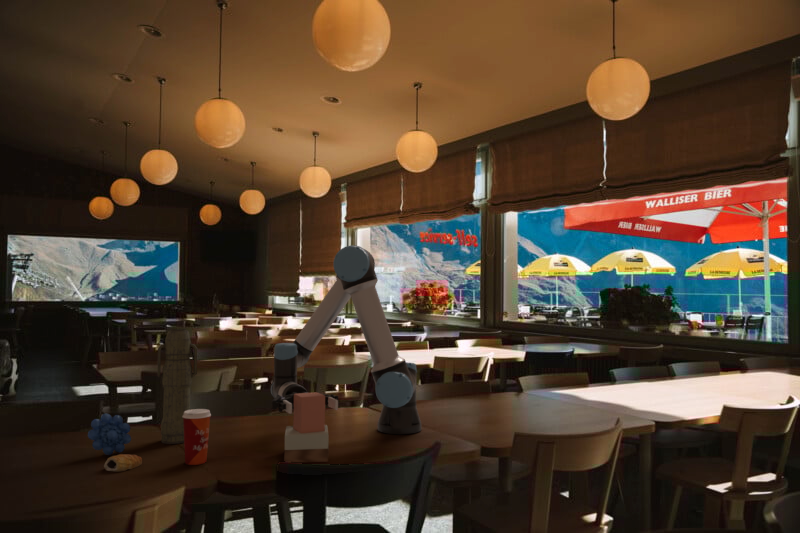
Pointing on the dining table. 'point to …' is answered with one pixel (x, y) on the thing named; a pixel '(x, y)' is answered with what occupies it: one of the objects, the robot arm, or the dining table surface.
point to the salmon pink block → (309, 412)
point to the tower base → (306, 455)
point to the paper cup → (196, 435)
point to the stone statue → (176, 383)
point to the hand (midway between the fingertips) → (314, 406)
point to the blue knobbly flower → (109, 434)
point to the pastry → (122, 462)
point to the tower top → (305, 439)
